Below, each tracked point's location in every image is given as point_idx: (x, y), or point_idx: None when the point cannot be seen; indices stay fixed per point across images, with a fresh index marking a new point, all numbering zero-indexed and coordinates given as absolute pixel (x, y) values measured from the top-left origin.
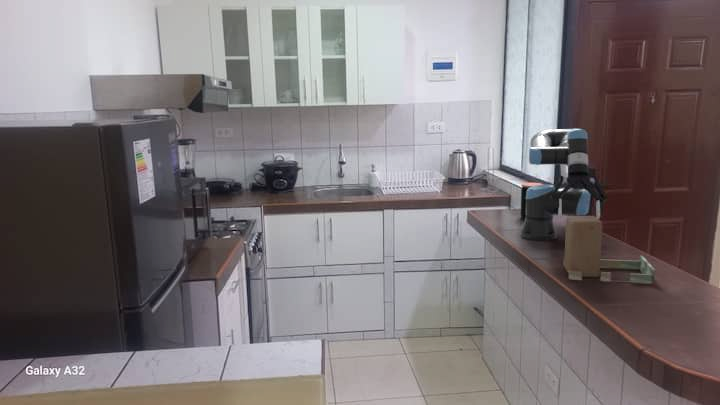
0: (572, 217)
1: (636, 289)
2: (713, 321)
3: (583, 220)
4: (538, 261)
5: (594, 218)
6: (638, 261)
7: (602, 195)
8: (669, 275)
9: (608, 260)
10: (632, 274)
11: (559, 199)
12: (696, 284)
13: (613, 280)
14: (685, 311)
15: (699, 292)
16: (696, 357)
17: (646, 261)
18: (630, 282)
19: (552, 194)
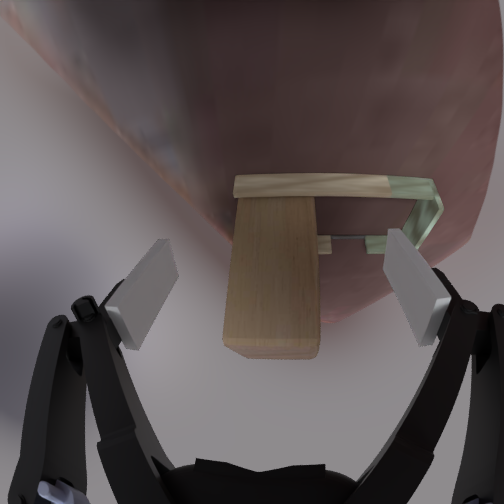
0: (241, 352)
1: (359, 254)
2: (391, 292)
3: (271, 358)
4: (163, 162)
5: (305, 355)
6: (429, 199)
7: (475, 369)
8: (456, 207)
9: (359, 195)
10: (369, 253)
11: (128, 344)
12: (461, 233)
13: (336, 236)
14: (381, 284)
15: (440, 252)
16: (338, 316)
17: (423, 237)
18: (364, 238)
19: (73, 363)
